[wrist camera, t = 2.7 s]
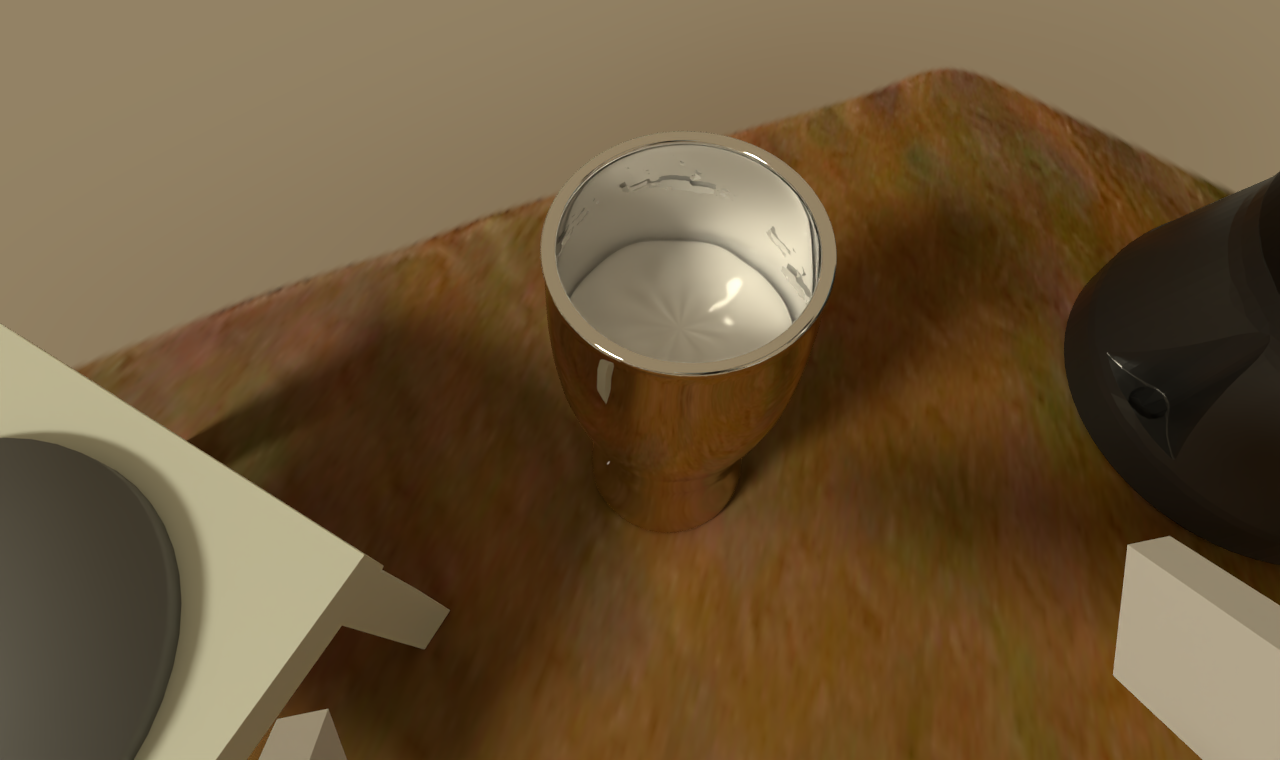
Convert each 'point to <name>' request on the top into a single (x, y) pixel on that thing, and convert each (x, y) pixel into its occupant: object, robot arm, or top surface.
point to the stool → (156, 583)
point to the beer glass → (682, 313)
